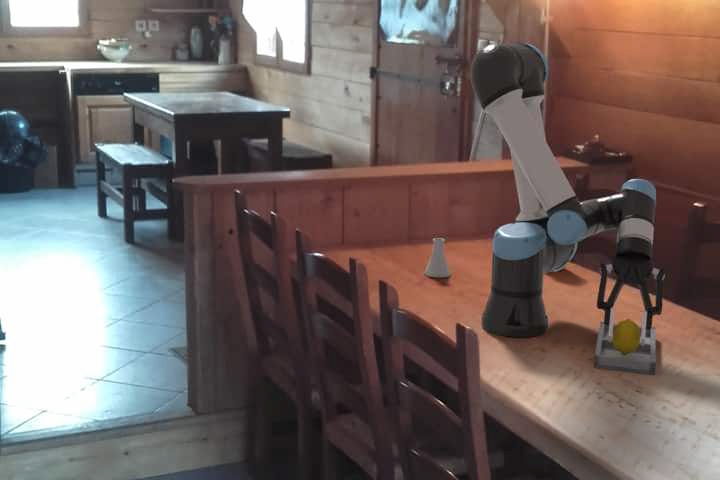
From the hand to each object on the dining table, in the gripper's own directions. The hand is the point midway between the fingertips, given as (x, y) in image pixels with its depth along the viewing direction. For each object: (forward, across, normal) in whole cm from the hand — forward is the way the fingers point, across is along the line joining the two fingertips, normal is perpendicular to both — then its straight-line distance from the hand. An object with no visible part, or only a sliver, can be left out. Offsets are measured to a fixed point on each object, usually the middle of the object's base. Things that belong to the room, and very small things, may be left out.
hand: (626, 340), depth 200 cm
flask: (-35, +51, -43) cm, 75 cm away
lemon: (+1, 0, -6) cm, 6 cm away
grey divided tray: (-2, 0, -11) cm, 11 cm away
